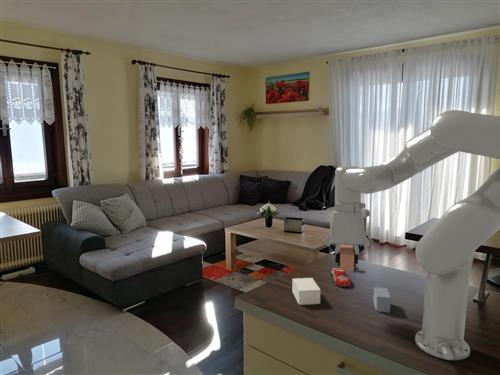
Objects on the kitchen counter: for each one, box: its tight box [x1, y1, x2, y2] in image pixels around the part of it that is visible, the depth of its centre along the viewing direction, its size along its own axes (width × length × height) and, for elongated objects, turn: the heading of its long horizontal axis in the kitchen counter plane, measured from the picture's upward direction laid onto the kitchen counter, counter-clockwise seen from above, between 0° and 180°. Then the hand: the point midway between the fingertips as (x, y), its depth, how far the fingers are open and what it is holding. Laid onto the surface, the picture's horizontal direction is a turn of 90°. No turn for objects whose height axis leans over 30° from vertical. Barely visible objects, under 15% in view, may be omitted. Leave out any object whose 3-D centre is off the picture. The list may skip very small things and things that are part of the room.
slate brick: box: [372, 286, 392, 313], centre depth 116 cm, size 7×4×5 cm, turn 168°
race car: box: [330, 267, 352, 288], centre depth 137 cm, size 13×5×4 cm, turn 178°
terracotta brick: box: [339, 244, 355, 271], centre depth 112 cm, size 7×4×5 cm, turn 169°
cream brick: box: [291, 277, 321, 306], centre depth 123 cm, size 10×7×5 cm
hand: (346, 264), depth 112 cm, fingers closed on terracotta brick, 4 cm apart
